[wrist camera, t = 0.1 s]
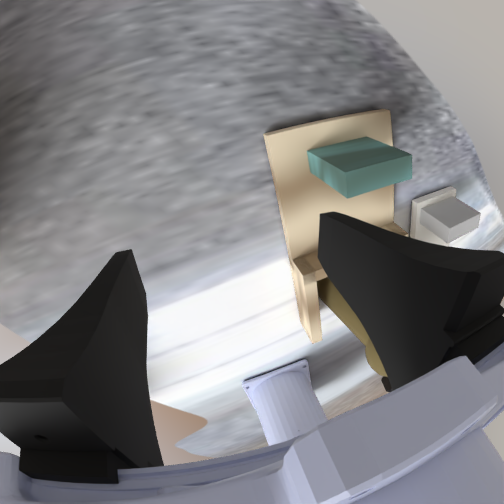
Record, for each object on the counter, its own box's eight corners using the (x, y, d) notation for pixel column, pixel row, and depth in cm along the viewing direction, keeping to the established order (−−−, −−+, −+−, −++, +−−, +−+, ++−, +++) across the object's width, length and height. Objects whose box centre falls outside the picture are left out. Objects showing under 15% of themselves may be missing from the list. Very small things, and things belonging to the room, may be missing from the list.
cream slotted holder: (384, 286, 30) (415, 321, 26) (300, 322, 29) (324, 366, 25) (383, 108, 20) (437, 123, 15) (263, 133, 19) (298, 153, 14)
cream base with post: (438, 273, 33) (462, 296, 29) (403, 292, 32) (427, 318, 28) (451, 186, 26) (484, 205, 22) (412, 200, 25) (447, 223, 21)
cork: (305, 275, 27) (368, 370, 18) (360, 238, 26) (440, 317, 17) (326, 311, 30) (381, 396, 21) (374, 279, 30) (439, 353, 21)
